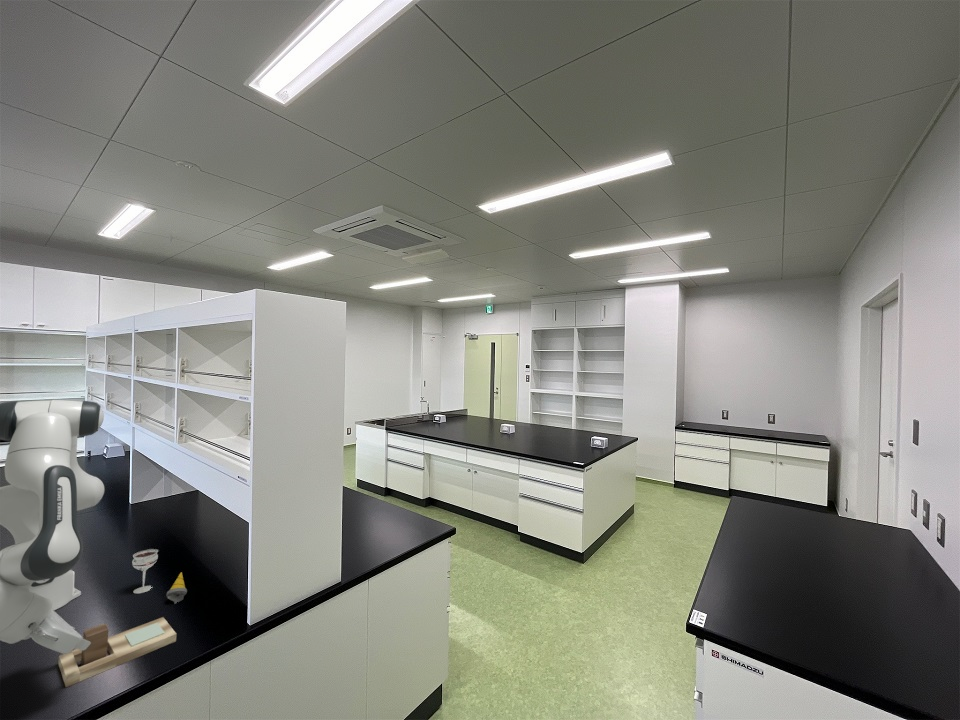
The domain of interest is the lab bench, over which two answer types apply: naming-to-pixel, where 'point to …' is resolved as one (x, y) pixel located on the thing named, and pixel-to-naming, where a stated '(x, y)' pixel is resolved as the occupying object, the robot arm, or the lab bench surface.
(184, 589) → the ice cream cone
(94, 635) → the walnut peg
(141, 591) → the wineglass
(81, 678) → the puzzle board
